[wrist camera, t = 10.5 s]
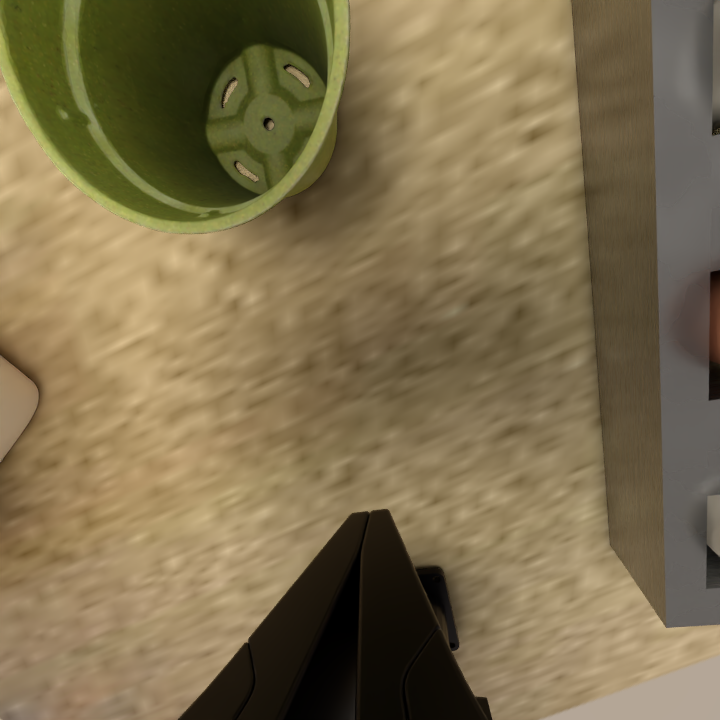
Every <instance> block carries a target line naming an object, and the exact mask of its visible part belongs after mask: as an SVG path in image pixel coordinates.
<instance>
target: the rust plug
mask: <svg viewBox="0 0 720 720" xmlns="http://www.w3.org/2000/svg"><path fill="white" fill-rule="evenodd" d="M709 360H710V361H712V362H715V363H717V364H720V270H717V271H712V272H710V328H709Z"/></svg>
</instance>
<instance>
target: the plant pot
mask: <svg viewBox="0 0 720 720" xmlns="http://www.w3.org/2000/svg"><path fill="white" fill-rule="evenodd" d="M349 46H350V5H349V0H0V68H1V71H2V74H3V77H4V79H5V81H6V84H7V88H8V90H9V93H10V95H11V97H12V100H13V101H14V103H15V105H16V107H17V109H18V111H19V113H20V115H21V116H22V118H23V120H24V121H25V123H26V125H27V127H28V128H29V129H30V131H31V132H32V134H33V135H34V137H35V139H36V140H37V142H38V143H39V145H40V146H41V148H42V149H43V151H44V152H45V153H46V155H47V156H48V157H49V158H50V160H51V161H52V162H53V164H54V165H55V166H56V167H57V168H58V170H59V171H60V172H61V173H62V174H63V175H64V176H65V177H66V178H67V179H68V180H69V181H70V182H71V183H72V184H73V185H75V186H76V187H77V188H78V189H79V190H81V191H82V192H83V193H84V194H85V195H87V196H88V197H90V198H91V199H93V200H94V201H95V202H96V203H98V204H99V205H101V206H102V207H104V208H105V209H107V210H108V211H110V212H112V213H114V214H115V215H117V216H119V217H121V218H124V219H126V220H128V221H130V222H133V223H135V224H138V225H140V226H143V227H146V228H150V229H153V230H157V231H161V232H166V233H175V234H204V233H212V232H218V231H223V230H227V229H230V228H233V227H237V226H239V225H242V224H245V223H247V222H249V221H251V220H253V219H255V218H257V217H259V216H260V215H262V214H264V213H265V212H267V211H268V210H270V209H271V208H273V207H274V206H275V205H276V204H278V203H279V202H280V201H281V200H283V199H284V198H287V197H290V196H293V195H296V194H298V193H300V192H302V191H304V190H305V189H307V188H308V187H310V186H311V185H312V184H313V183H314V182H315V181H316V180H317V179H318V178H319V177H320V176H321V174H322V173H323V172H324V170H325V169H326V167H327V165H328V163H329V161H330V159H331V156H332V153H333V150H334V147H335V143H336V137H337V110H338V106H339V103H340V99H341V96H342V92H343V88H344V83H345V78H346V72H347V65H348V59H349ZM288 64H291V65H293V66H294V67H296V68H297V69H299V70H300V71H302V72H303V73H304V74H305V75H306V76H307V77H308V78H309V82H310V86H309V88H306V87H305V86H304V85H303V84H302V83H301V82H300V81H299V80H298V79H297V78H296V77H295V76H293V75H292V74H291V73H289V72H287V71H286V70H284V66H285V65H288ZM233 78H236V79H237V80H238V85H237V86H236V87H235V89H234V90H233V92H232V93H231V95H230V97H229V99H228V102H227V103H225V108H222V104H221V101H222V96H223V92H224V89H225V87H226V86H227V84H228V83H229V81H230V80H232V79H233ZM265 118H271V119H272V120H273V122H274V127H273V129H272V130H267V129H266V128H265V127H264V124H263V122H264V120H265ZM235 161H239V162H240V163H241V165H243V166H244V167H245V168H246V169H247V170H249V171H250V172H251V173H253V174H254V175H257V176H258V177H259V181H256V182H253V181H252V180H250V179H249V178H248V177H247V176H245V175H242V174H240V173H239V172H238V171H237V169H236V168H235V167H234V162H235Z"/></svg>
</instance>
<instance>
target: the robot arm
mask: <svg viewBox="0 0 720 720" xmlns="http://www.w3.org/2000/svg"><path fill="white" fill-rule="evenodd" d="M435 576H437V577H435ZM458 648H459V640H458V635H457V630H456V626H455V621H454V617H453V612H452V607H451V603H450V598H449V594H448V589H447V585H446V580H445V576H444V572H443V571H442V570H441V569H439V568H429V569H418V570H415V568H414V566H413V563H412V561H411V559H410V556H409V554H408V552H407V550H406V547H405V545H404V543H403V541H402V538H401V536H400V534H399V532H398V529H397V527H396V525H395V522H394V520H393V518H392V516H391V513H390V511H389V510H388V509H381V510H373V511H371V512H370V513H369V512H368V511H365V512H357V513H352V514H351V515H350V516H349V517H348V518H347V519H346V521H345V522H344V523H343V524H342V525H341V527H340V528H339V529H338V530H337V532H336V533H335V534H334V535H333V536H332V538H331V539H330V540H329V541H328V542H327V544H326V545H325V546H324V547H323V549H322V550H321V551H320V552H319V553H318V555H317V556H316V557H315V558H314V559H313V561H312V562H311V563H310V564H309V566H308V567H307V568H306V569H305V570H304V572H303V573H302V574H301V575H300V577H299V578H298V579H297V580H296V581H295V583H294V584H293V585H292V586H291V587H290V589H289V590H288V591H287V592H286V594H285V595H284V596H283V597H282V598H281V600H280V601H279V602H278V603H277V605H276V606H275V607H274V608H273V609H272V611H271V612H270V613H269V614H268V615H267V617H266V618H265V619H264V620H263V622H262V623H261V624H260V625H259V626H258V628H257V629H256V630H255V631H254V632H253V634H252V635H251V636H250V637H249V639H248V642H246V643H244V644H243V646H242V647H241V648H240V649H239V651H238V652H237V653H236V654H235V655H234V657H233V658H232V659H231V660H230V661H229V663H228V664H227V665H226V666H225V667H224V668H223V670H222V671H221V672H220V673H219V674H218V675H217V677H216V678H215V679H214V680H213V681H212V682H211V684H210V685H209V686H208V687H207V688H206V689H205V691H204V692H203V693H202V694H201V695H200V696H199V697H198V698H197V699H196V700H195V701H194V702H193V704H192V705H191V706H190V707H189V708H188V709H187V710H186V711H185V712H184V713H183V714H182V716H181V717H180V718H179V719H178V720H492V717H491V713H490V709H489V705H488V701H487V698H485V697H475V696H474V694H473V693H472V691H471V689H470V687H469V685H468V684H467V682H466V680H465V678H464V676H463V674H462V672H461V670H460V668H459V666H458V664H457V662H456V659H455V657H454V655H453V653H452V651H455V650H457V649H458Z"/></svg>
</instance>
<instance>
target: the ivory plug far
mask: <svg viewBox="0 0 720 720" xmlns="http://www.w3.org/2000/svg"><path fill="white" fill-rule="evenodd" d="M707 545H708V546H709V547H710V548H711V549H712V550H713V551H714V552H715V553H716V554H717V555H718V556H719V557H720V495H712V496H707Z"/></svg>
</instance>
